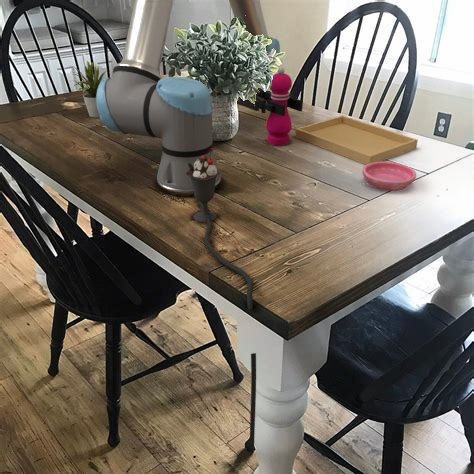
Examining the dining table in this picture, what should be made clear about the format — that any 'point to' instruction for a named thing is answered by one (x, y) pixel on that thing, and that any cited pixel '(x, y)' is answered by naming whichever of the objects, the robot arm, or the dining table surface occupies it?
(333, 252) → the dining table surface
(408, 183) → the saucer
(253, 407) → the robot arm
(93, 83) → the house plant
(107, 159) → the dining table surface
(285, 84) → the pepper mill
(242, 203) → the dining table surface
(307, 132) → the tray
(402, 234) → the dining table surface
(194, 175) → the sundae
